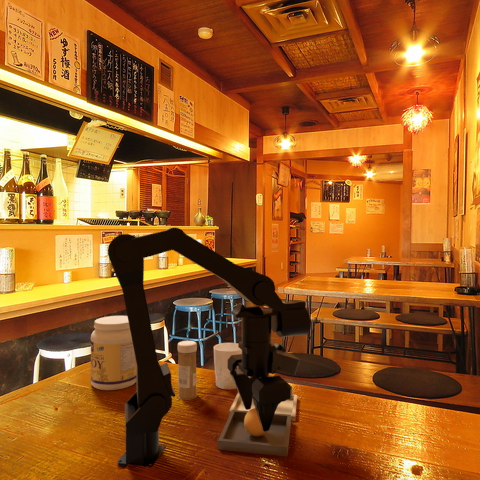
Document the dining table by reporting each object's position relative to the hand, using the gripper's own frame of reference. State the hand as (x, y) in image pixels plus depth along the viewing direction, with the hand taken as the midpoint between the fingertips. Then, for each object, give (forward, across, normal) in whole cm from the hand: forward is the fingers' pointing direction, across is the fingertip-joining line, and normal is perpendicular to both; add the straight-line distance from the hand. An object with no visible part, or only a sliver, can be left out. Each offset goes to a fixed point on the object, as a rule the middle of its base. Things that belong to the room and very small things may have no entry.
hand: (256, 419), depth 74 cm
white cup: (+4, +27, -3) cm, 28 cm away
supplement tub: (+4, +39, +25) cm, 46 cm away
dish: (+4, 0, 0) cm, 4 cm away
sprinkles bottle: (+4, +22, +9) cm, 25 cm away
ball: (+3, 0, 0) cm, 3 cm away
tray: (+4, +11, -6) cm, 13 cm away
